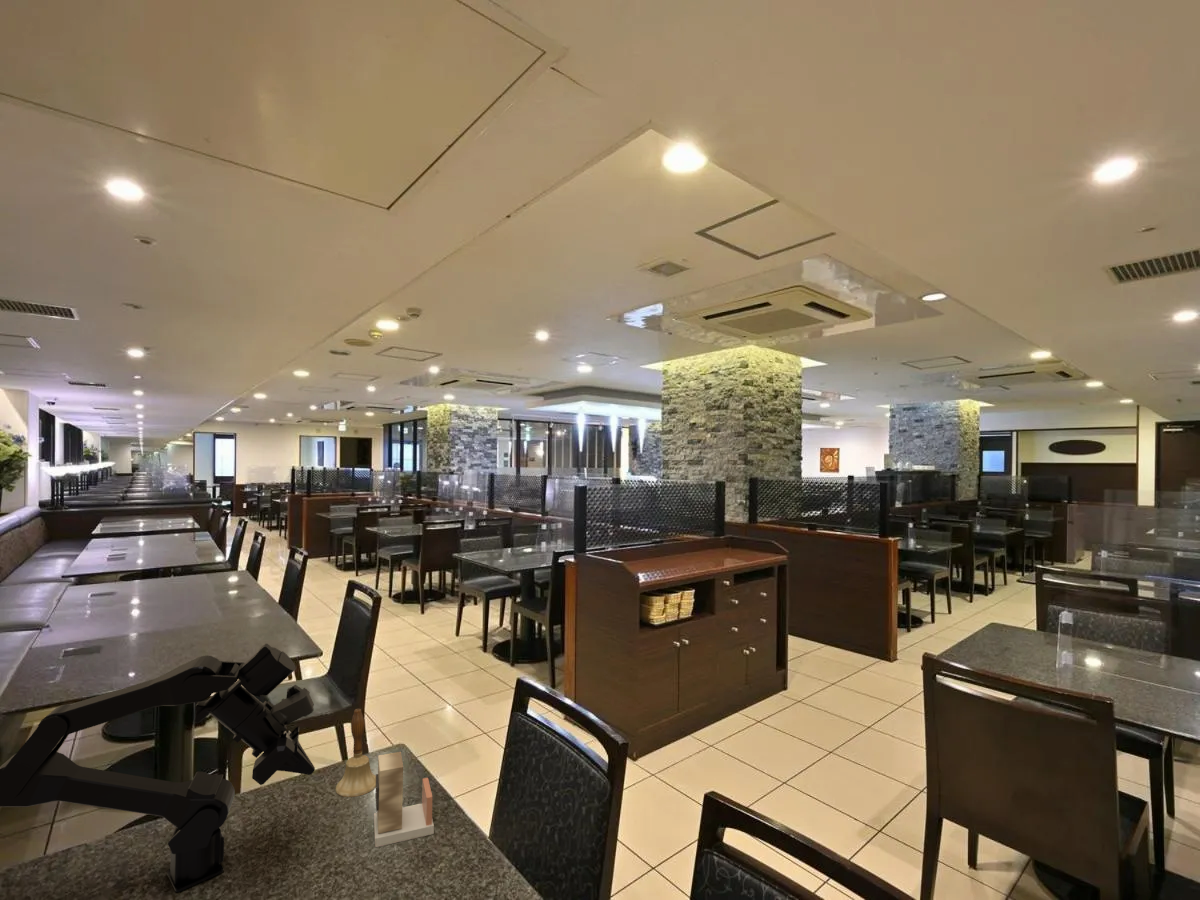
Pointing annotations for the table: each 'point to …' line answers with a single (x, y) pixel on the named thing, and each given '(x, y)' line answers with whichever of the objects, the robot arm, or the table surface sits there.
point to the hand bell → (357, 765)
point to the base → (410, 821)
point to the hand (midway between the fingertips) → (312, 771)
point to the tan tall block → (389, 792)
